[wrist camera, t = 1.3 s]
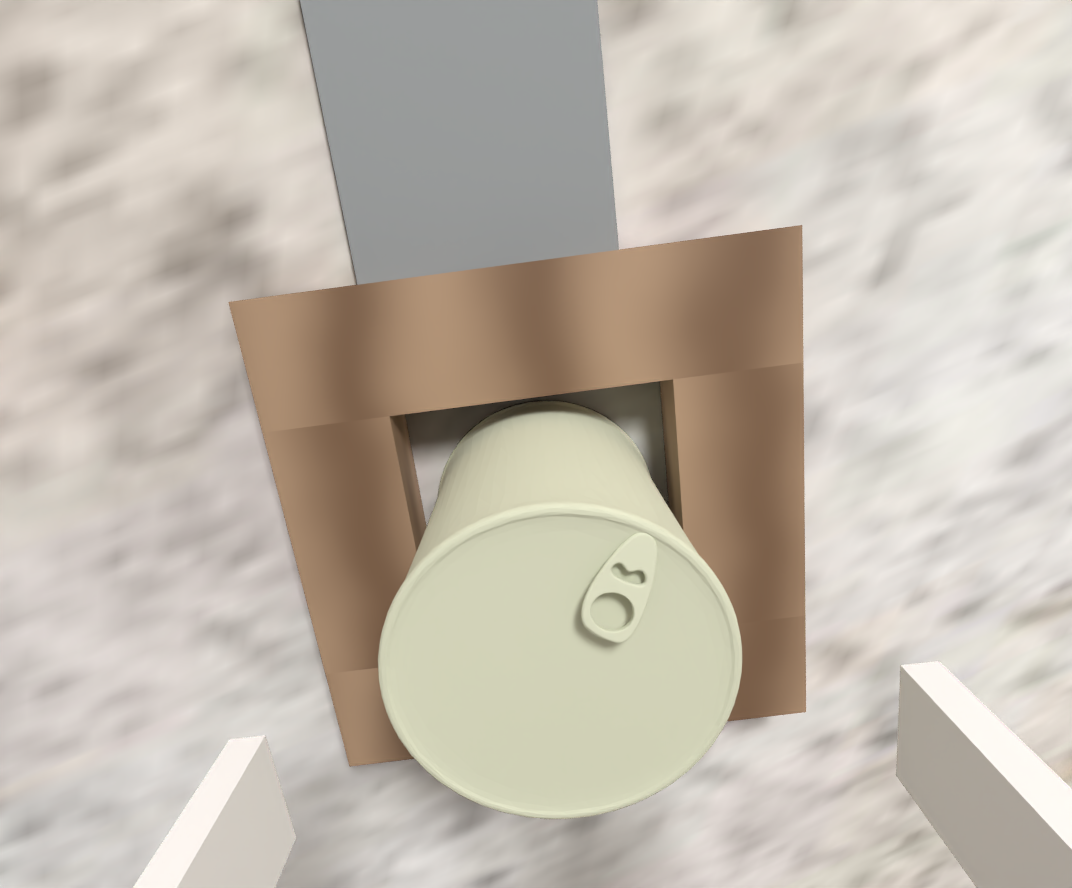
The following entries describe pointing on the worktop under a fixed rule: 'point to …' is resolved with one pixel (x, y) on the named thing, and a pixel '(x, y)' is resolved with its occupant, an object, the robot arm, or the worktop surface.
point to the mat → (464, 131)
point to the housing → (534, 371)
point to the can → (556, 624)
